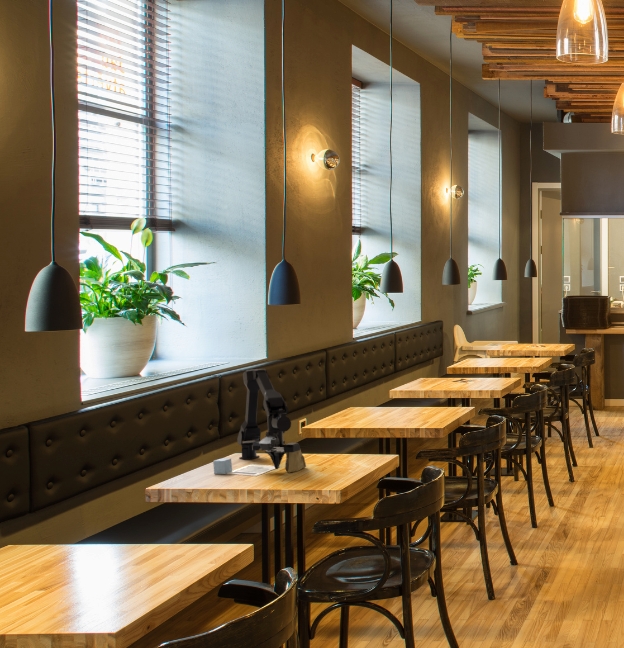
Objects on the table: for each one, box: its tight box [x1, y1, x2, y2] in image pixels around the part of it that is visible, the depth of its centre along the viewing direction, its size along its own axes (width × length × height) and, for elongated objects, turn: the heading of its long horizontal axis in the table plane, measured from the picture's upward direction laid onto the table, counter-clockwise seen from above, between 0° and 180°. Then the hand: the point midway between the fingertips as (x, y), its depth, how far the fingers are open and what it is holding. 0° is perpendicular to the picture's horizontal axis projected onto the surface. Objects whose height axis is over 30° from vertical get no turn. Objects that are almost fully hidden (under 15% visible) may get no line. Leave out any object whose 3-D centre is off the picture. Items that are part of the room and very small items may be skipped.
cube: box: [213, 458, 233, 475], centre depth 314 cm, size 5×5×5 cm
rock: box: [284, 448, 307, 474], centre depth 313 cm, size 11×9×10 cm
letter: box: [225, 463, 282, 477], centre depth 317 cm, size 18×14×1 cm
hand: (276, 468), depth 311 cm, fingers closed
